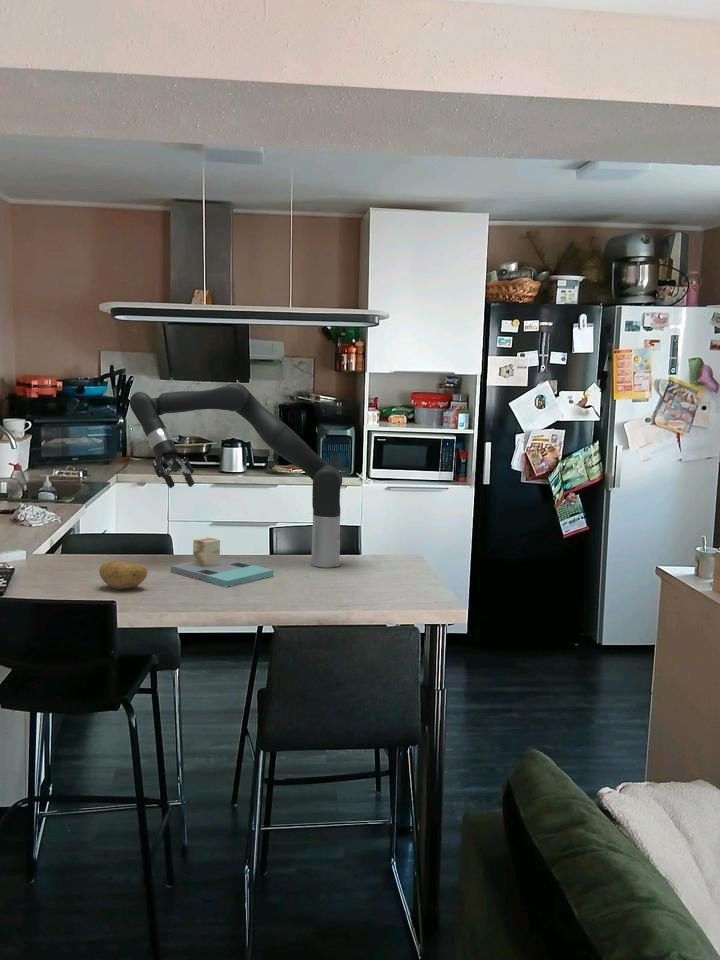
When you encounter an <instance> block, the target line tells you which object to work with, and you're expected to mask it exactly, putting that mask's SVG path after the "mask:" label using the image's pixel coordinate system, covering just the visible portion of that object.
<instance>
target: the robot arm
mask: <svg viewBox="0 0 720 960" xmlns="http://www.w3.org/2000/svg"><path fill="white" fill-rule="evenodd" d="M129 406H130V408H131V411H132V413H133V415H134V416H135V418H136V420H137V421H138V423H140V426H141V428H142V430H143V433H144V435H145V437H146V438H147V442H148V445H149V447H150V449H151V451H152V453H153V455H154V457H155V459H154V460H153V461H152V463H151V464H152V467H153V469H154V471H155V474H156V477H157V478H162V479H163V480H164V481H165V483H166V485H167V487H168V488H169V489H173V487H174V486H175V482H174V480H173V478H172V475H171V473H177V474H179V475H182V476H183V477H184V480H185V483H186V484H187V485H188V487H189V488H191V487H193V486H194V485H195V481H194V479H193V477H192V475H193V474H194V473H195V469H194V468H193V466H192V465H191V463H190V461H189V458H188V457H184V458H181V457H179V451H178V448H177V445H176V444H175V443H174V440H173V438H172V435H171V434H170V432H169V431H168V430H167V427H166V426H165V424H164V421H163V419H162V418H161V417H160V416H163V415H165V414H176V413H185V412H186V413H187V412H193V411H199V410H220V411H229V412H235V413H237V414H238V415H239V416H241V417H243V419H244V420H246V421H247V422H248V423H249V424H250V425H251V427H252V428H253V429H254V430H255V431H256V433H257V434H258V436H259V437H260V438H261V440H263V442H264V443H265V444H266V445H267V446H268V447H269V448H270V449H271V450H273V451H274V452H275V454H277V455H279V456H280V457H282V458H283V459H284V460H286V461H287V462H289V463H291V464H293V465H295V466H296V467H298V468H299V469H300V470H302V471H303V472H304V473H305V474H306V475H307V476H308V477H309V478H310V479H311V480H312V495H311V497H312V500H311V501H312V503H311V504H312V530H311V531H312V532H311V533H312V534H311V536H312V537H311V566H313V567H318V568H335V567H340V555H341V553H340V551H341V538H340V533H341V532H340V531H341V529H340V528H341V501H340V499H341V487H342V485H343V476H342V474H341V472H340V471H339V470H338V469H337V468H336V467H334V466H333V464H330V463H329V462H328V461H326V460H325V459H323V458H322V457H321V456H320V455H318V454H317V453H316V452H315V451H314V450H312V448H311V447H310V446H309V445H308V444H307V443H306V442H305V441H304V440H303V438H301V437H300V436H299V435H298V434H297V433H296V432H295V431H294V430H293V429H292V428H290V427H289V426H288V425H287V423H284V422H283V421H282V420H281V419H280V418H278V417H277V416H276V415H275V414H273V413H272V412H271V411H269V410H268V409H267V408H266V407H265V406H264V405H262V404H261V403H260V402H259V401H258V399H257V397H255V396H254V395H253V394H252V393H251V391H250V390H249V389H248V388H247V387H246V386H245V385H242V384H241V383H238V382H237V383H235V382H233V383H229V384H226V385H224V386H220V387H216V388H213V389H206V390H186V391H185V390H183V391H181V390H180V391H168V392H162V393H160V394H159V396H158V397H153V398H152V397H150V396H149V394H147V393H145V392H143V391H137V392H134V393H133V394H132V395H131V397H130V398H129Z"/></svg>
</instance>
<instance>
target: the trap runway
mask: <svg viewBox="0 0 720 960" xmlns="http://www.w3.org/2000/svg"><path fill="white" fill-rule="evenodd" d="M274 571H275V570H274V569H271V568H266V567H262V566H258V565H255V564H251V563H245V562H241V561H237V560H235V559H229V558H227V557H226V558H225V557H221V556H220V564H218V565H213V566H208V567H203V566H199V565H196V564H193V561H189V562H184V563H179V564H174V565H170V573H172V572H175V573H174V574H176V573H179V574H178V575H180V574H183V575H187V576H191V577H195V578H198V579H202V580H205V581H209V582H212V583H211V584H213V583H216V584H215V585H217V584H219V585H218V586H220V585H223V586H222V587H224V586H227V587H226V588H229V587H228V586H231V585H235V584H239V585H241V584H240V583H243V584H246V583H245V582H247V583H250V581H251V582H254V580H256V581H259V580H258V579H260V580H263V579H262V578H264V579H268V578H271V576H272V577H274V573H275V572H274ZM183 575H182V576H183ZM187 576H186V577H187ZM191 577H190V578H191ZM267 577H268V578H267ZM198 579H197V580H198ZM202 580H201V581H202ZM205 581H204V582H205ZM209 582H208V583H209ZM235 586H236V585H235ZM231 587H232V586H231Z"/></svg>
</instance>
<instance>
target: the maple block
mask: <svg viewBox="0 0 720 960" xmlns="http://www.w3.org/2000/svg"><path fill="white" fill-rule="evenodd" d="M192 541H193V542H192V550H193V551H192V562H193V564H196V565H199V566H203V567H208V566H213V565H218V564H220V557H221V556H220V555H221V554H220V553H221V549H220V548H221V540H220V539H219V538H218V539H217V538H213V537H208V536H205V537H200V538H195V539H194V538H193V540H192Z"/></svg>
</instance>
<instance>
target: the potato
mask: <svg viewBox="0 0 720 960" xmlns="http://www.w3.org/2000/svg"><path fill="white" fill-rule="evenodd" d="M99 567H100V568H99V570H98V572H99V575H100V578H101V579H102V582H104V583H105V584H106V585H108V586H109V587H112V588H114V589H117V590H126V589H133V588H136V587H138V586H140V584H142V583H143V582H144V581H145V580H146V578H147V576H148V570H147V568H146V567H145V566H143V565H141V564H140V563H134V562H133V563H131V562H127V561H115V560H108V561H107V560H106V561H105V562H103V563H102V564H101V565H100V566H99Z"/></svg>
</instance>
